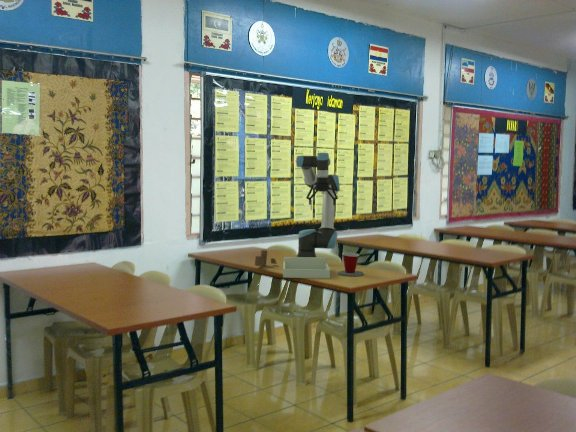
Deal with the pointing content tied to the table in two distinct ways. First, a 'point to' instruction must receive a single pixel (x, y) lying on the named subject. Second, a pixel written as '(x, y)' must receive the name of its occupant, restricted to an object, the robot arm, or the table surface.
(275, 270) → the table surface
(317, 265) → the light grey tray
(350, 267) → the plastic cup
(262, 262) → the wooden block set
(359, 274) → the saucer
